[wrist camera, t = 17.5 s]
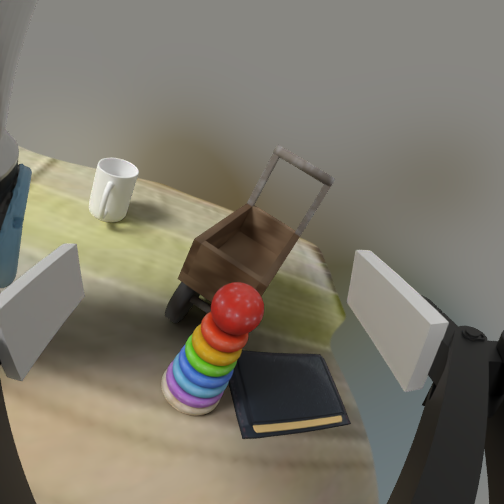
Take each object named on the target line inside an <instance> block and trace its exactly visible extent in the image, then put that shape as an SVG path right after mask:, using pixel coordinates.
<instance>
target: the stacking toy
mask: <svg viewBox="0 0 504 504" xmlns="http://www.w3.org/2000/svg"><path fill="white" fill-rule="evenodd" d="M263 314H264V303H263V300H262V298H261V296H260V294H259V293H258V292H257V290H256V289H254V288H253V287H252V286H250V285H248V284H245V283H241V282H234V283H229V284H227V285H225V286H223V287H221V288H220V289H219V290H218V291H217V292H216V294H215V295H214V297H213V300H212V303H211V312H209V313H208V314H206V315H205V316H204V318H203V320H202V322H201V324H200V325H199V326H198V327H196V329H195V330H194V332H193V334H192V335H191V336H190V337H189V338H188V340H187V342H186V344H185V345H184V346H183V348H182V349H181V351H180V352H179V353H178V354H177V356H176V357H175V359H174V360H173V361H172V362H171V363H170V365H169V367H168V368H167V369H166V371H165V372H164V374H163V377H162V381H161V387H162V392H163V394H164V396H165V398H166V400H167V401H168V402H169V403H170V404H171V406H173V407H174V408H175V409H176V410H178V411H180V412H182V413H184V414H188V415H203V414H207V413H209V412H211V411H212V410H213V409H214V408H215V407H216V406H217V405H218V403H219V401H220V398H221V397H222V395H223V393H224V390H225V389H226V387H227V385H228V382H229V380H230V379H231V377H232V374H233V370H234V367H235V365H236V363H237V359H238V358H239V357H240V355H241V352H242V348H243V347H244V346H245V345H246V343H247V341H248V333H249V332H251V331H252V330H254V329H255V328H256V327H257V326H258V325H259V323H260V322H261V320H262V317H263Z"/></svg>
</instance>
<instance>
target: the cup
mask: <svg viewBox="0 0 504 504" xmlns="http://www.w3.org/2000/svg"><path fill="white" fill-rule="evenodd" d="M138 173H139V171H138V168H137V167H136V166H135V165H133V164H132V163H130V162H128V161H125V160H122V159H118V158H105V159H102V160H100V161H99V162H98V166H97V170H96V174H95V178H94V183H93V187H92V192H91V197H90V202H89V210H90V213H91V214H92V215H93V216H94V217H95V218H97V219H99V220H101V221H104V222H118V221H120V220H122V219H123V218H124V217H125V216H126V214H127V210H128V207H129V203H130V200H131V196H132V193H133V190H134V186H135V183H136V180H137V177H138Z"/></svg>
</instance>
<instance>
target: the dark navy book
mask: <svg viewBox="0 0 504 504" xmlns="http://www.w3.org/2000/svg"><path fill="white" fill-rule="evenodd" d="M228 383H229V387H230V390H231V395H232V399H233V403H234V408H235V412H236V416H237V420H238V424H239V427H240V431H241V435H242V439H254V438H264V437H271V436H279V435H287V434H295V433H302V432H309V431H315V430H321V429H327V428H332V427H338V426H343V425H348V424H351V423H350V421H349V418H348V416H347V413H346V410H345V407H344V405H343V402H342V400H341V398H340V395H339V393H338V390H337V388H336V385H335V383H334V381H333V378H332V376H331V373H330V371H329V369H328V366H327V364H326V362H325V360H324V358H323V357H322V356H321V355H320V354H289V353H267V352H253V351H242V352H241V355H240V357H239V358H238V359H237V363H236V365H235V367H234V370H233V374H232V377H231V379H230V380H229V382H228Z"/></svg>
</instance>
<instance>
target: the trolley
mask: <svg viewBox="0 0 504 504" xmlns="http://www.w3.org/2000/svg"><path fill="white" fill-rule="evenodd" d="M279 158H282V159H283V160H285V161H287V162H289V163H290V164H292V165H294V166H295V167H297V168H299V169H300V170H302V171H304V172H305V173H307V174H309V175H310V176H312V177H314V178H315V179H317V180H319V181H320V182H322V183H323V184H324V186H323V187H322V189H321V191H320V192H319V194H318V195H317V197H316V199H315V200H314V202H313V204H312V205H311V207H310V209H309V210H308V212H307V214H306V215H305V217H304V218H303V220H302V222H301V224H300V225H299V227H298V228H297V230H296V231H295V230H293V229H292V228H290V227H289V226H287V225H285V224H284V223H282V222H281V221H279V220H277V219H276V218H274V217H273V216H271V215H269V214H268V213H266V212H264V211H263V210H261V209H260V208H258V207H257V206H255V205H254V204H255V203H256V201H257V199H258V197H259V195H260V193H261V191H262V189H263V188H264V185H265V184H266V182H267V180H268V178H269V176H270V174H271V172H272V171H273V169H274V167H275V165H276V163H277V161H278V159H279ZM334 180H335V178H333V177H332V176H330V175H328V174H327V173H325V172H324V171H322V170H320V169H319V168H317V167H315V166H314V165H312V164H310V163H309V162H307V161H305V160H304V159H302V158H300V157H299V156H297V155H295V154H294V153H292V152H290V151H288V150H287V149H285V148H283V147H281V146H280V145H277V146H276V148H275V150H274V152H273V154H272V156H271V158H270V160H269V162H268V164H267V166H266V168H265V169H264V171H263V173H262V175H261V177H260V179H259V181H258V183H257V185H256V187H255V189H254V191H253V193H252V195H251V197H250V199H249V200H248V202H247V204H245V205H244V206H242V207H241V208H239V209H238V210H236V211H235V212H233V213H232V214H230V215H229V216H227V217H226V218H224V219H223V220H221V221H220V222H218V223H217V224H215V225H214V226H213V227H211V228H210V229H208V230H207V231H205V232H204V233H202V234H201V235H199V236H198V237H197V238H195V239H194V241H193V243H192V246H191V248H190V251H189V253H188V255H187V258H186V260H185V262H184V265H183V267H182V270H181V272H180V275H179V277H178V279H179V280H180V281H181V284H180V285H179V286H178V288H177V289H176V291H175V292H174V294H173V296H172V297H171V299H170V301H169V303H168V305H167V308H166V311H165V316H166V317H167V318H168V319H170V320H171V321H172V322H174V323H177V322H179V321H180V320H181V319H182V318H183V317H184V316H185V315H186V314H187V312H188V311H189V310H190V309H191V307H192V306H193V305H196V306H197V307H199V308H200V309H201V310H203V311H204V312H206V313H207V314H208V313H209V312H211V306H210V305H209V304H207V303H206V302H204V301H203V300H201V299H200V298H199V296H200V295H202V296H203V297H205V298H206V299H208V300H209V301H210V302H212V300H213V297H214V295H215V294H216V292H217V291H218V290H219V289H220V288H221V287H223V286H225V285H227V284H229V283H234V282H241V283H245V284H248V285H250V286H252V287H253V288H254V289H256V290H257V292H258V293H259V294H260V296H262V295H263V293H264V291H265V290H266V288H267V287H268V285H269V284H270V282H271V281H272V279H273V278H274V276H275V275H276V273H277V271H278V270H279V268H280V267H281V265H282V264H283V262H284V261H285V259H286V257H287V256H288V254H289V253H290V251H291V250H292V248H293V246H294V245H295V243H296V242H297V240H298V239H299V237H300V235H301V234H302V232H303V231H304V229H305V227H306V226H307V224H308V222H309V221H310V219H311V218H312V216H313V215H314V213H315V211H316V210H317V208H318V207H319V205H320V203H321V202H322V200H323V198H324V197H325V195H326V194H327V192H328V190H329V189H330V187H331V185H332V183H333V182H334Z"/></svg>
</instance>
